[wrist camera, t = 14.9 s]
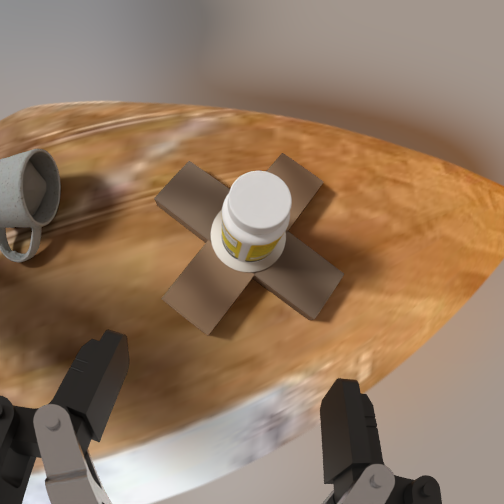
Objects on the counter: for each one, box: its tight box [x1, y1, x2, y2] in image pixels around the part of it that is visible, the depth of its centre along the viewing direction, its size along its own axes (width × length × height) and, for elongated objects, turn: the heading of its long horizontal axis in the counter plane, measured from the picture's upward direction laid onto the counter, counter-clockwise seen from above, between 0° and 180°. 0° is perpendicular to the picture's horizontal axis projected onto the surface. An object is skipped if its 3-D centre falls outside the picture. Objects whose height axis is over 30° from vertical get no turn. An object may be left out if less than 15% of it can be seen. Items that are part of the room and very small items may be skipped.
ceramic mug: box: [0, 149, 61, 262], centre depth 24 cm, size 11×8×8 cm
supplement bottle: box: [221, 171, 292, 263], centre depth 23 cm, size 5×5×8 cm
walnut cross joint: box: [154, 153, 344, 335], centre depth 28 cm, size 18×18×2 cm
